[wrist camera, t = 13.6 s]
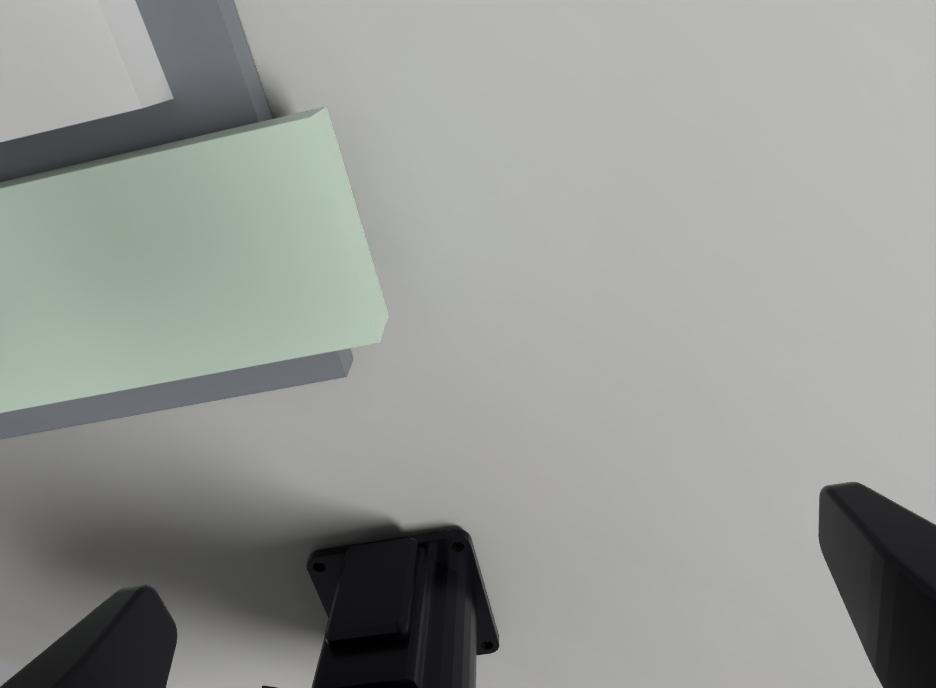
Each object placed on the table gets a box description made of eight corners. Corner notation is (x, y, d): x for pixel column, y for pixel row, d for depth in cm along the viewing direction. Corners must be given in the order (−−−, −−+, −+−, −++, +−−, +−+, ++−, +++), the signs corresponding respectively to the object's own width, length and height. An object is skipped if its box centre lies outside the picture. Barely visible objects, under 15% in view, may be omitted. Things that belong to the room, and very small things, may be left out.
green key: (393, 299, 21) (380, 342, 18) (46, 365, 22) (-14, 415, 20) (336, 100, 18) (310, 117, 16) (-54, 190, 20) (-138, 220, 17)
